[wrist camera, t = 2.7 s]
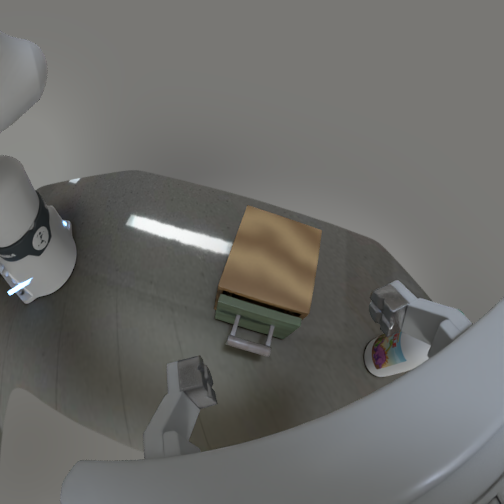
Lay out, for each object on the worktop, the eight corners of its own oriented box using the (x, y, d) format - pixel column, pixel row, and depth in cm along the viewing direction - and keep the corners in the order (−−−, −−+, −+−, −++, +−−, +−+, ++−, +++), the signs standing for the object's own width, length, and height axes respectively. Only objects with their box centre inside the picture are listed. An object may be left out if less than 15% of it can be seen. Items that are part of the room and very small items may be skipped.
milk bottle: (399, 349, 45) (477, 313, 28) (386, 384, 41) (470, 361, 24) (371, 330, 46) (447, 287, 29) (356, 366, 42) (438, 336, 25)
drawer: (277, 365, 39) (293, 358, 33) (205, 344, 39) (207, 333, 32) (298, 268, 49) (314, 245, 42) (238, 248, 49) (245, 222, 42)
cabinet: (287, 331, 43) (309, 314, 35) (214, 309, 43) (218, 285, 35) (302, 259, 51) (321, 230, 43) (238, 238, 51) (247, 205, 43)
